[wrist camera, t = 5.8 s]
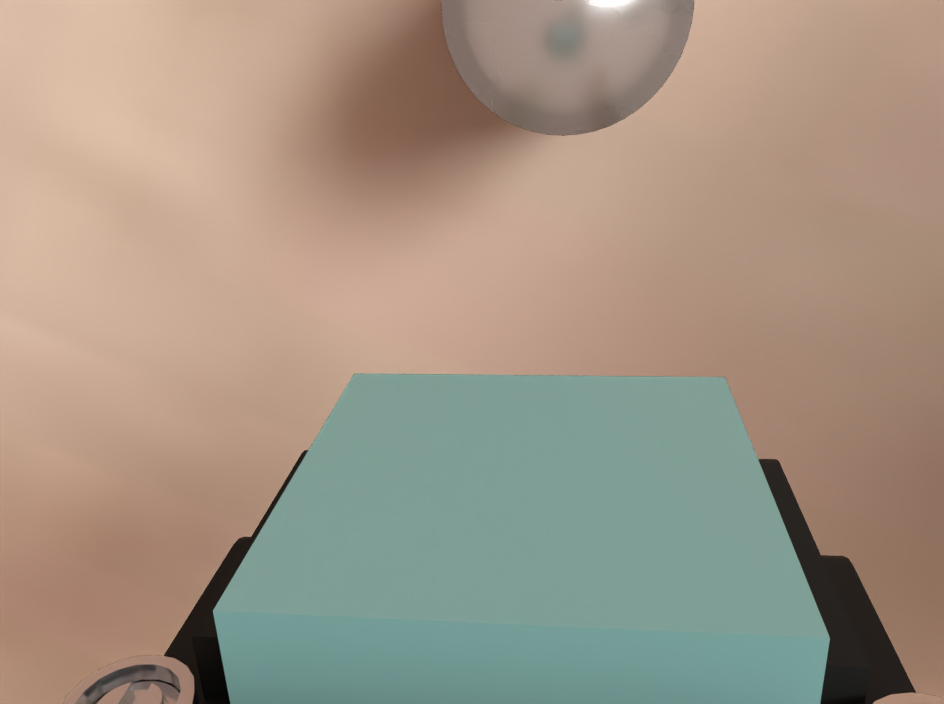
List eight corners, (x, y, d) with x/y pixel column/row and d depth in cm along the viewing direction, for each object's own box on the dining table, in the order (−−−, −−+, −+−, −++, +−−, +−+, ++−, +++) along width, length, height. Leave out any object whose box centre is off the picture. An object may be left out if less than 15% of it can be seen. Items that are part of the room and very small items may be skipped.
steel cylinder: (666, -100, 22) (704, -142, 16) (654, 99, 24) (684, 135, 18) (475, -94, 23) (436, -132, 16) (478, 101, 25) (445, 135, 18)
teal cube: (724, 377, 11) (830, 638, 7) (700, 674, 13) (770, 1039, 8) (354, 373, 12) (212, 611, 7) (382, 658, 14) (284, 991, 9)
